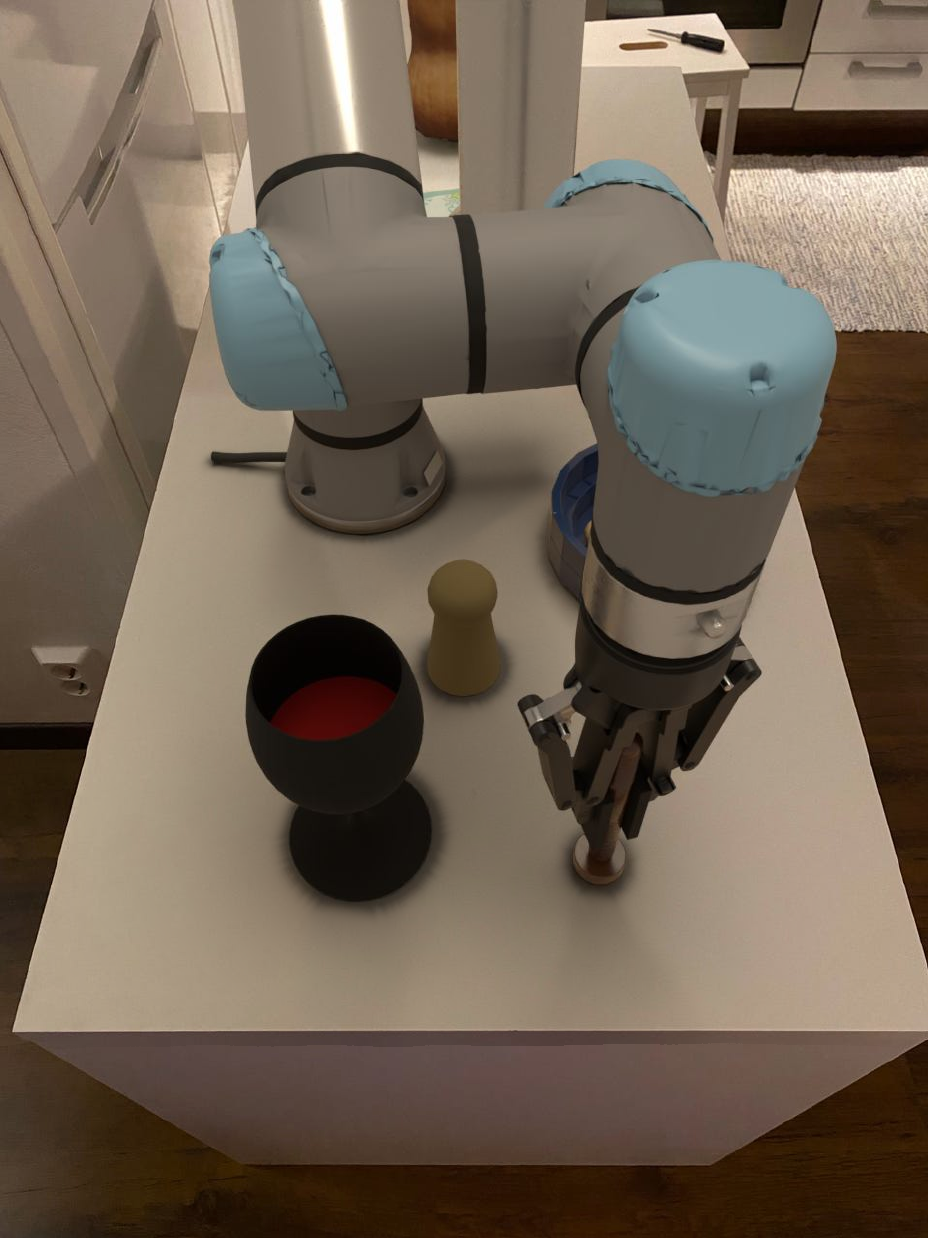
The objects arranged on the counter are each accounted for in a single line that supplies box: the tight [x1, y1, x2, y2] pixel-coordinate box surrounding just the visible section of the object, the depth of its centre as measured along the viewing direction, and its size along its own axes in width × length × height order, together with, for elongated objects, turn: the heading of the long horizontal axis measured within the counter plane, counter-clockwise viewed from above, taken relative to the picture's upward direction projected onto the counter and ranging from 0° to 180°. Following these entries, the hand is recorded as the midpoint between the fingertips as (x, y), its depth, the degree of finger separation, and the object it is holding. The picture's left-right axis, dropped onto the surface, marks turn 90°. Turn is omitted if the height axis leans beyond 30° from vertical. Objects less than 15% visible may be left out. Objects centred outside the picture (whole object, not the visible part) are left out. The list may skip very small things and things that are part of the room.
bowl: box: [547, 442, 599, 600], centre depth 83 cm, size 18×18×6 cm
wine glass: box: [244, 614, 433, 902], centre depth 61 cm, size 10×10×20 cm
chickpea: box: [584, 521, 591, 544], centre depth 84 cm, size 3×3×3 cm
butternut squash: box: [406, 0, 459, 143], centre depth 125 cm, size 14×13×25 cm
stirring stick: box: [572, 732, 643, 886], centre depth 60 cm, size 4×4×17 cm
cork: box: [426, 559, 502, 697], centre depth 73 cm, size 6×6×11 cm
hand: (606, 826), depth 62 cm, fingers closed on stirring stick, 2 cm apart
